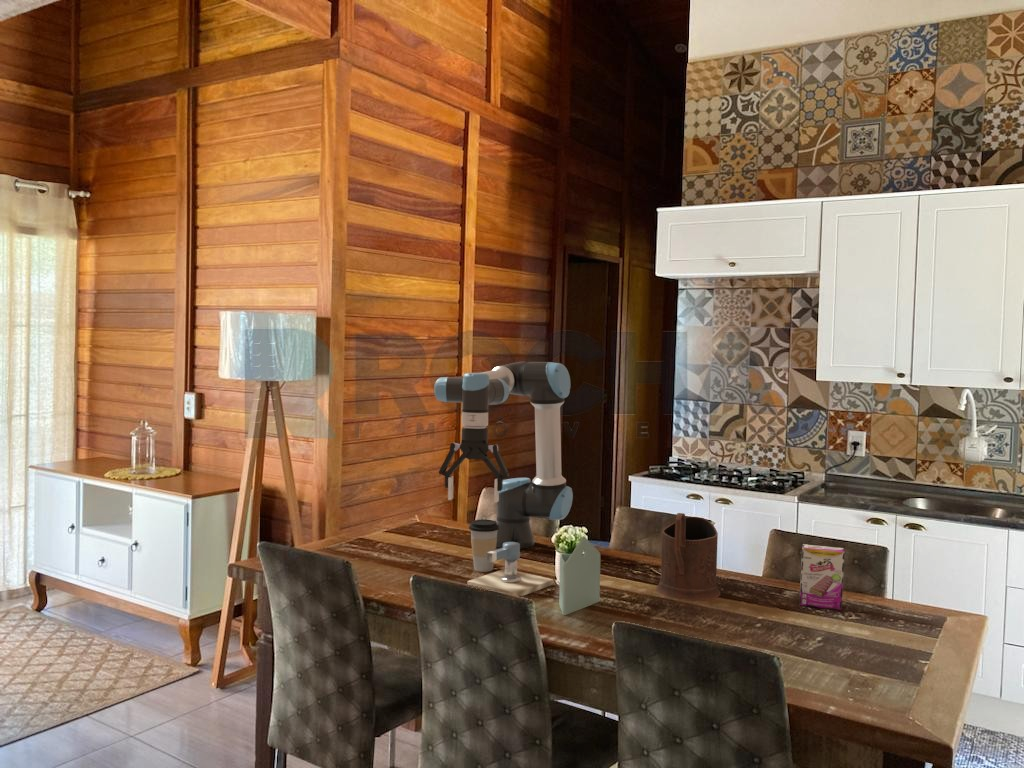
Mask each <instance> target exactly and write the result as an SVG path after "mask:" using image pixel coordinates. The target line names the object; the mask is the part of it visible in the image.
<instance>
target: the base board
mask: <svg viewBox="0 0 1024 768" xmlns="http://www.w3.org/2000/svg"><path fill="white" fill-rule="evenodd" d="M503 575H505V568H504V569H500V570H497V571H494V572H491V573H488V574H485V575H481V576H479V577H475V578H472V579H469V580H467V582H466V583H467V584H468V585H473V586H478V587H482V588H486V589H492V590H497V591H502V592H506V593H510V594H513V595H518V596H521V597H525V596H526V595H528V594H529V595H530V594H532V593H535V592H537V591H540V590H543V589H545V588H548V587H550V586H553V585H554V579H552V578H549V577H544V576H540V575H536V574H531V573H526V572H522V571H518V570H517V576H520V577H521V581H520V582H518V583H505V582H502V581H501V580H500V577H501V576H503Z"/></svg>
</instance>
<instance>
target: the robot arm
mask: <svg viewBox="0 0 1024 768" xmlns="http://www.w3.org/2000/svg"><path fill="white" fill-rule="evenodd" d="M433 387H434V389H433V390H434V397H435V398H436V401H439V402H443V403H444V402H445V403H459V404H460V403H461V404H462V405H461V406H462V407H461V408H462V409H461V425H462V426H463V427H462V428H461V442H460V443H457V442H455V441H454V442H452V443H450V445H449V451H448V453H447V455H446V457H445V458H444V461H443V463H441V464H442V465H441V466H440V469H439V471H438V474H439V475H442V476H443V477H444V488H446V489H447V500H448V501H452V500H453V499H454V476H452V475H453V473H454V472H455V471H456V470H457V468H458V467H459V466H460V465H461V464H462V463H463V462H464V461H465V460H466V459H467V460H476V461H479V460H481V461H483V462H484V463H485V465H486V466H487V467H488V469H489V470H490V472H491V473H493V476H494V477H496V478H495V479H494V484H493V486H494V494H493V495H494V497H493V504H495V503H496V522H497V525H498V526H499V529H498V530H497V543H496V548H498V549H501V548H503V543H505V542H517V543H519V544H520V550H524V549H528V548H532V547H534V546H535V537H534V533H533V530H532V527H531V519H530V518H536V519H543V520H544V519H545V520H550V521H553V520H554V521H561V520H562V521H563V520H564V519H565V518H566V517H567V516H568V515H569V512H570V510H571V507H572V504H573V499H574V498H573V497H574V495H573V494H574V492H573V489H572V487H570V486H568V485H567V479H566V478H565V477H564V476H563V475H562V444H561V443H562V440H561V439H562V437H561V434H562V432H561V429H562V428H561V406H562V405H564V403H565V398H568V396H569V395H570V393H571V391H570V390H571V376H570V373H569V371H568V368H567V367H566V366H565V365H564V364H562V363H561V362H552V361H551V362H550V361H517V362H516V361H515V362H512V363H507V364H502V365H499V366H495V367H494V368H493V369H492V370H487V371H482V372H466V373H464V374H463V375H461V376H454V377H452V376H451V377H449V376H446V377H445V376H443V377H442V376H441V377H438V379H436V381H435V382H434V386H433ZM509 395H516V396H522V397H529V403H530V404H531V405H532V406H533V407H534V430H535V432H534V433H535V465H536V466H535V467H536V469H535V470H536V472H535V476H534V478H533V479H532V480H531V478H529V477H515V478H513V477H512V478H508V477H509V476H510V473H509V471H508V468H507V466H506V464H505V462H504V460H503V458H502V454H501V452H500V448H499V444H497V443H496V444H493V445H492V444H490V445H489V443H488V442H489V441H488V440H489V429H488V428H487V427H488V426H489V405H496V406H498V405H500V404H503V403H505V402H506V401H507V400H508V398H509ZM459 449H460V451H461V453H462V454H461V455H460V456H459V457H458V459H456V461H455V462H454V463H453V464H452V465H451V467H449V466H450V463H451V462H452V459H453V457H454V455H455V453H456V452H457V451H458V450H459ZM489 451H490V452H491V453H493V456H494V459H495V461H496V463H497V465H498V467H497V466H496V465H495V463H494V462H493V461H492V460H491V458H490V456H489V455H488V454H487V453H488V452H489ZM448 467H449V469H448ZM498 468H499V469H498ZM507 478H508V479H507Z"/></svg>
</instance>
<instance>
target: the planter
mask: <svg viewBox="0 0 1024 768" xmlns="http://www.w3.org/2000/svg"><path fill="white" fill-rule="evenodd" d="M600 587H601V552H600V551H599V550H598V549H597V548H596V547H595V546H594V545H593V544H592V543H591V542H590V540H588V538H587V537H585V536H584V535H582V537H581V539H580V540H579V542H578V543H577V544H576V547H575V548H574V550H573V551H572V553H560V555H559V595H558V596H559V597H558V599H559V600H558V603H559V604H558V606H559V608H560V610H561V613H562V615H563V616H567V615H570V614H572V613H575V612H577V611H579V610H582V609H585V608H587V607H590V606H592V605H595V604H597V603H600V600H601V597H600V594H601V590H600Z"/></svg>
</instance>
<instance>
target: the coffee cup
mask: <svg viewBox="0 0 1024 768" xmlns="http://www.w3.org/2000/svg"><path fill="white" fill-rule="evenodd" d="M468 529H469V530H470V541H471V543H470V545H471V554H472V560H473V570H474V571H475V572H481V573H482V572H483V573H487V572H492V571H493V570H494V563H495V561H494V562H489V561H487V552H490V551H494V550H497V547H496V543H497V530H498V529H499V526H498V525H497V520H492V519H486V518H485V519H475V520H474V519H473V520H471V522H470V524H469V526H468Z"/></svg>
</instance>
